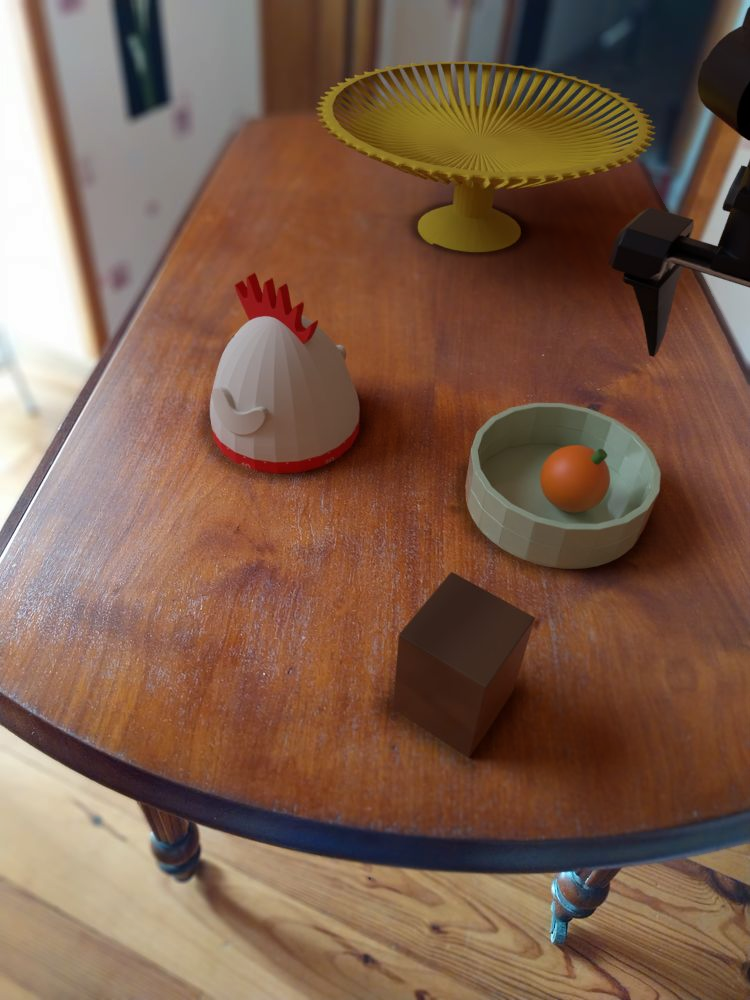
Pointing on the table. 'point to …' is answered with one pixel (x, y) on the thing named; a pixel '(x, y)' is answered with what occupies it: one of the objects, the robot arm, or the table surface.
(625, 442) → the bowl
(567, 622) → the table surface
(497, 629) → the block
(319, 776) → the table surface
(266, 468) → the white chicken figurine
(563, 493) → the toy orange fruit
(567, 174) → the yellow pedestal fruit stand
